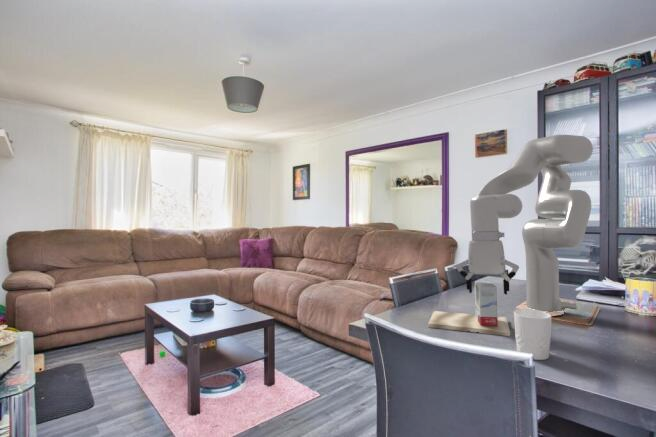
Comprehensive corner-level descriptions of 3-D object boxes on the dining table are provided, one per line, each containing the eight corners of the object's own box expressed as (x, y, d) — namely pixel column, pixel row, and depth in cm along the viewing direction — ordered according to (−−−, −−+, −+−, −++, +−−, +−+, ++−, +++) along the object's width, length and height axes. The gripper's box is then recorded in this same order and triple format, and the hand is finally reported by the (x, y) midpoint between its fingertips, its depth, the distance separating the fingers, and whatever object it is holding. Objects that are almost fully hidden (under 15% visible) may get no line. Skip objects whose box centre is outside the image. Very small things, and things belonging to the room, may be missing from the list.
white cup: (508, 348, 87) (507, 309, 87) (539, 347, 87) (539, 308, 87) (524, 361, 80) (524, 318, 79) (559, 361, 79) (559, 318, 79)
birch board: (506, 321, 108) (506, 317, 108) (510, 336, 96) (510, 331, 96) (433, 314, 117) (433, 310, 117) (428, 327, 104) (428, 323, 104)
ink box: (498, 327, 100) (497, 286, 99) (480, 326, 101) (479, 286, 101) (491, 318, 108) (491, 280, 108) (474, 317, 109) (474, 280, 109)
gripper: (516, 234, 104) (518, 290, 105) (455, 236, 111) (458, 288, 112) (519, 237, 97) (521, 297, 98) (454, 238, 104) (456, 294, 105)
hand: (487, 292), depth 105 cm, fingers open, 9 cm apart
